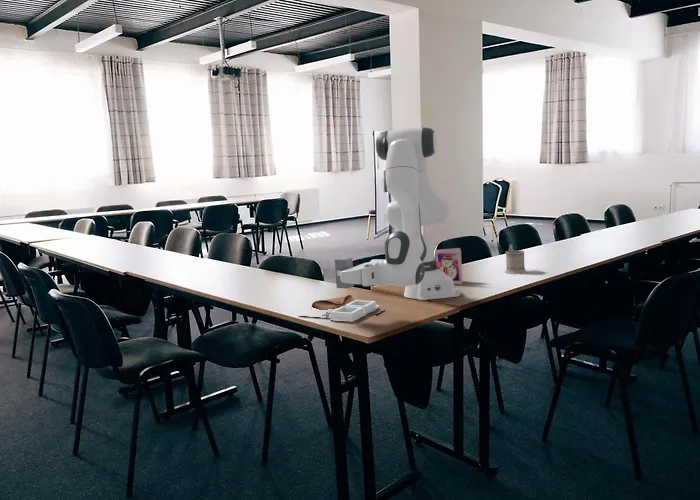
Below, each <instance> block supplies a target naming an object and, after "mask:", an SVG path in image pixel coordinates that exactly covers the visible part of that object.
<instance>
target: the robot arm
mask: <svg viewBox="0 0 700 500" xmlns="http://www.w3.org/2000/svg"><path fill="white" fill-rule="evenodd" d="M437 147H438V138H437V135H436V133H435V130H433V129H432V128H431V127H424V126H423V127H422V128H421V127H406V128H401V129H399V128H398V129H394V130H385V131H381V132H379V133H378V135H376V141H375V147H374V148H375V151H376V153H377V156H378V158H380V160H382V161H385V176H384V177H385V183H386V184H385V185H386V189H387V192H388V193H389V195H390V196H391V197H392V198H393V200H394V201H390V202H389V203H388V204H387V205H386V208H385V211H384V217H385V221H386V222H387V223H388V224H389V225H390V226H391V227H393V229H395V231H394V232H391V233H390V234H389V235H388V236H387V238H386V239H385V241H384V255H385V256H384V257H385V259H382V258H381V259H379V258H378V259H377V258H376V259H371V260H370V261H369V262H363V263H361V264H358V265H356V266H353V267H352V268H350V269H347V270H344V271H343V270H339V271H337V275H338V276H340V277H341V282H343V283H350V284H354V285H362V286H363V287H372V286H385V287H386V286H394V287H405V288H404V293H403V296H404V298H408V299H413V300H414V299H415V300H419V301H428V299H429V300H436V299H437V300H439V299H447V298H455V297H456V298H457V297H459V296H460V295H461V291H460V289H459V288H457V287H455V284H454V283H453V280H452V278H451V277H450V276H448V275H447V274H445V273H444V272H443V271H441V270H440V269H438V268H439V267H440V266H441V263H440V262H438V261H436V259H434V244H433V241H432V239H431V238H430V237H429V236H426V235H424V234H422V227H431V226H432V227H433V226H439V225H443V224H445V223H447V221H448V220H449V219H450V216H451V207H450V204H449V203H448V202H447V200H445V199H444V198H443V197H441V196H439V195H438V194H437V192H435V190H434V189H433V187H432V186H431V184H430V178H429V174H428V173H429V171H428V163H427V158H429V157H432V156H434V154H435V153H436V151H437Z"/></svg>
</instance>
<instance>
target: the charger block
mask: <svg viewBox="0 0 700 500" xmlns="http://www.w3.org/2000/svg"><path fill="white" fill-rule="evenodd" d="M353 265H354V263H353V257H339V258H335V259H334V268H335V269H334V270H335V271H334V272H335V283H336V289H350V288H353V287H355V284H350V283H343V282H341V277H340V276H338V275H337V271H339V270H343V271H344V270H347V269H350V268H352V267H354V266H353Z"/></svg>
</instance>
